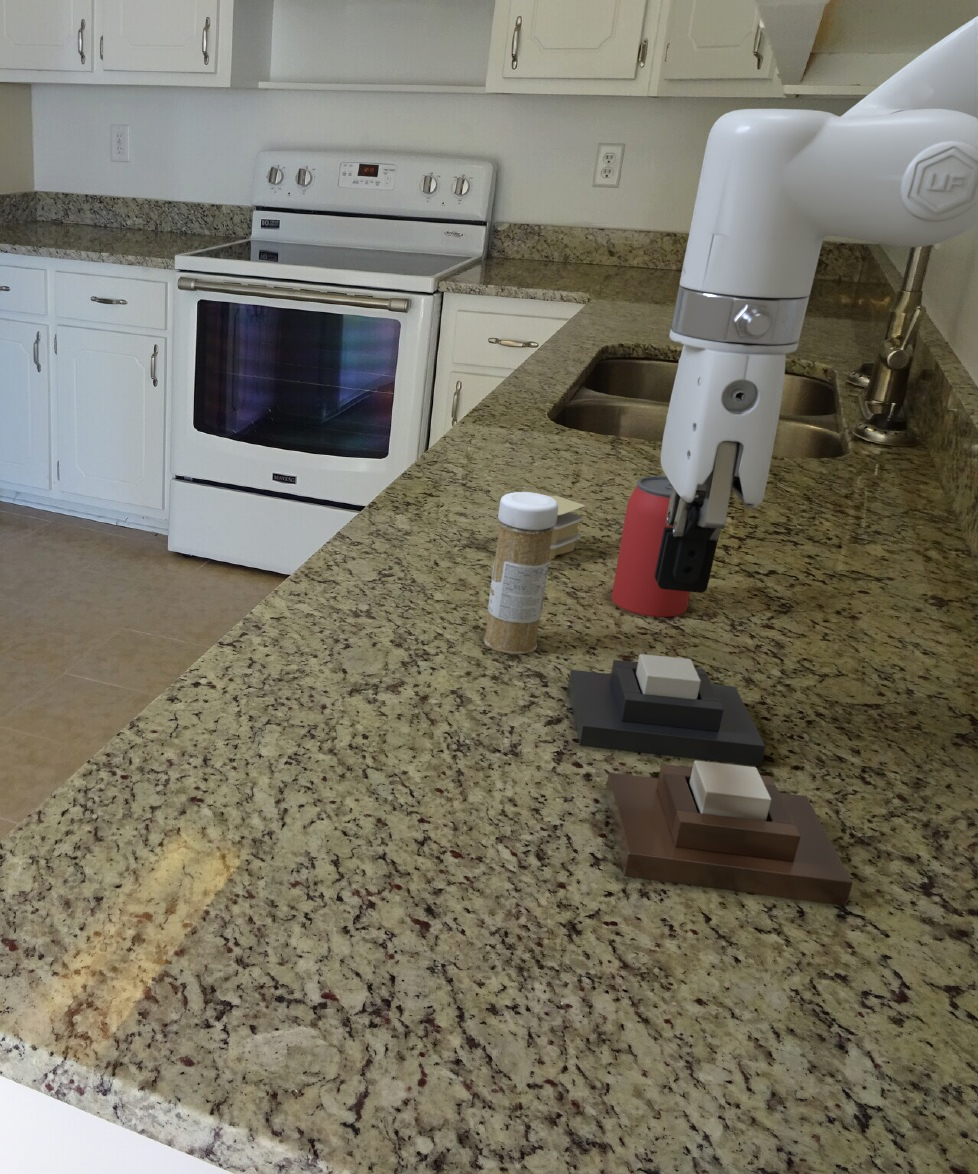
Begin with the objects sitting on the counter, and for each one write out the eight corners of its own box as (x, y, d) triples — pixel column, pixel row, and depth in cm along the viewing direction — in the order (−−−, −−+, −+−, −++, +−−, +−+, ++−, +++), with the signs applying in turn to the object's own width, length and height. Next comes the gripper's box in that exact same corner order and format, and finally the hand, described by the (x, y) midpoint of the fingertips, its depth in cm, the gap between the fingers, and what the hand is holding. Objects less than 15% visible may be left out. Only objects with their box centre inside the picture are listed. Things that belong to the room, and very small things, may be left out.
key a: (750, 791, 68) (756, 766, 68) (765, 824, 65) (772, 799, 64) (688, 783, 69) (693, 759, 68) (700, 816, 66) (706, 791, 65)
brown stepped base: (799, 824, 71) (813, 771, 70) (844, 914, 63) (861, 856, 62) (603, 800, 74) (613, 748, 72) (622, 884, 65) (633, 827, 64)
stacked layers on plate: (537, 534, 122) (544, 486, 120) (605, 559, 115) (613, 509, 113) (472, 550, 117) (478, 500, 115) (538, 578, 110) (546, 525, 108)
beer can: (693, 625, 100) (719, 498, 95) (617, 620, 101) (639, 493, 96) (676, 597, 106) (700, 476, 101) (604, 592, 107) (624, 472, 102)
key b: (686, 679, 82) (691, 658, 81) (696, 702, 79) (701, 680, 78) (635, 674, 83) (639, 653, 82) (643, 697, 79) (647, 675, 79)
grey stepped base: (729, 711, 85) (740, 665, 83) (759, 773, 77) (771, 723, 75) (566, 694, 87) (573, 648, 86) (578, 752, 79) (586, 703, 78)
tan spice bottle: (487, 633, 98) (505, 487, 92) (540, 643, 96) (562, 494, 91) (477, 654, 94) (496, 502, 89) (533, 664, 92) (555, 510, 87)
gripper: (837, 345, 63) (764, 637, 70) (769, 307, 77) (713, 555, 84) (697, 336, 64) (639, 623, 72) (654, 300, 78) (609, 545, 85)
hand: (679, 586), depth 78 cm, fingers closed
